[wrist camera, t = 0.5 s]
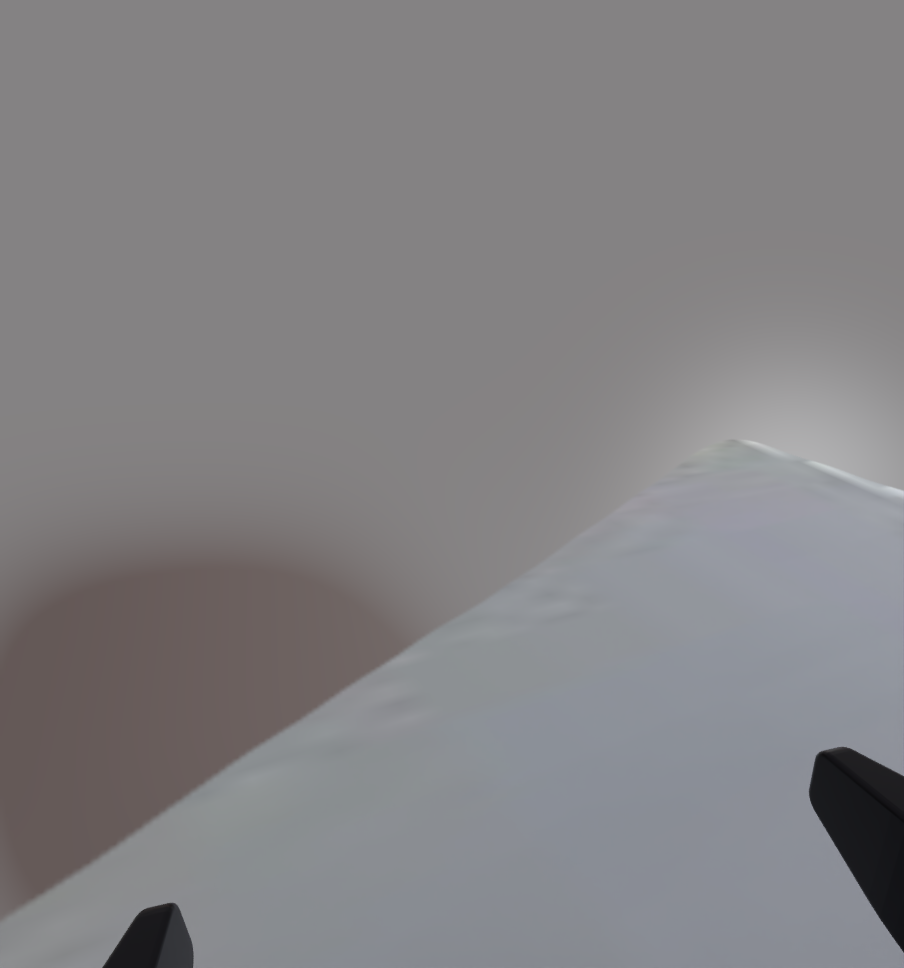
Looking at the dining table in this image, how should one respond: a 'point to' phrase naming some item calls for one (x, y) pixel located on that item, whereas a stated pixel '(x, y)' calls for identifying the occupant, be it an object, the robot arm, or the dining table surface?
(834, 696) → the dining table surface
